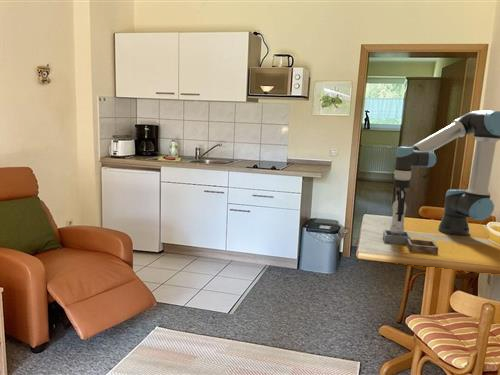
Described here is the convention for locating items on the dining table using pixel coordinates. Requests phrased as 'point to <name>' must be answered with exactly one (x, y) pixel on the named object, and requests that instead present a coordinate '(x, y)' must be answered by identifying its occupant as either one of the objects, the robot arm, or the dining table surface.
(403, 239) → the grey tray
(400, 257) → the dining table surface
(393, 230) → the silver metal bottle
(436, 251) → the walnut collar
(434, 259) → the dining table surface
